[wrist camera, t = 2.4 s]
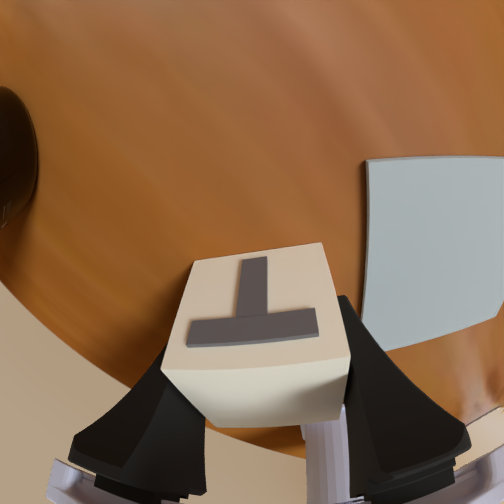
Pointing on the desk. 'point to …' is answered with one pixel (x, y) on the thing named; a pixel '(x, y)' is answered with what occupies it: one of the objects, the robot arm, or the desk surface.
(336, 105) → the desk surface
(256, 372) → the letter block
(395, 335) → the slate mat
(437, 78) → the desk surface
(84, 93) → the desk surface
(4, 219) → the supplement bottle
